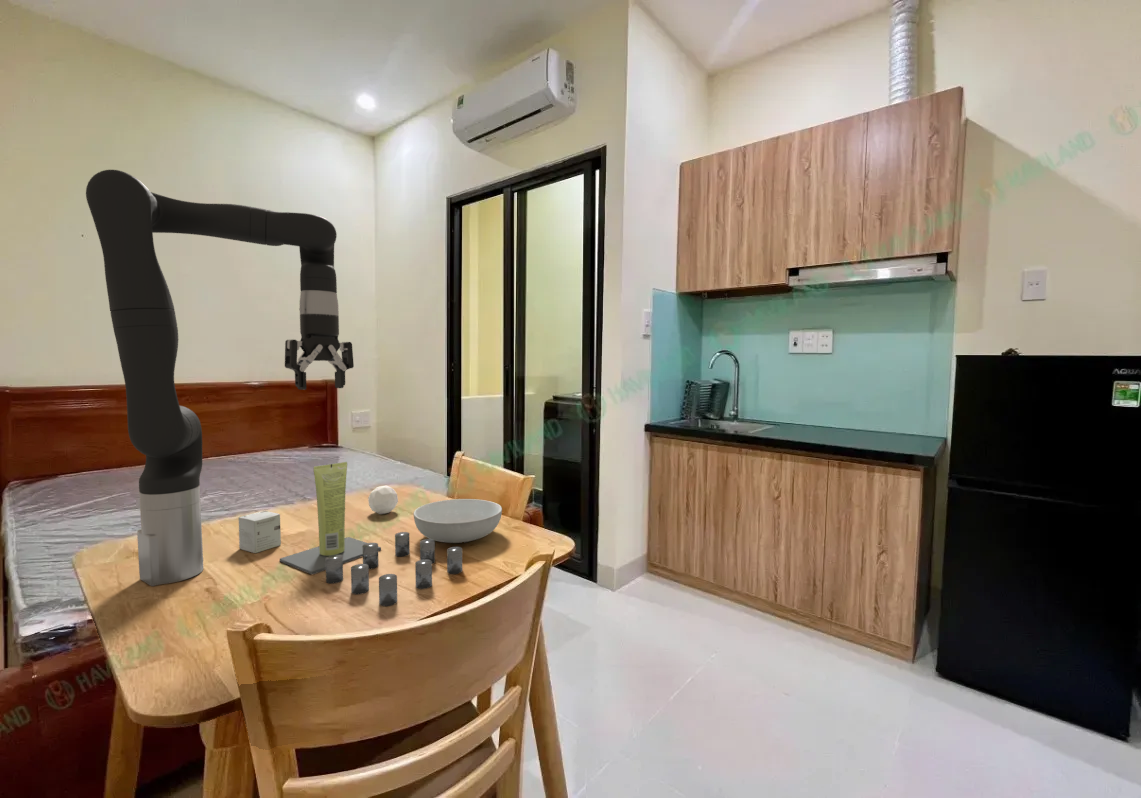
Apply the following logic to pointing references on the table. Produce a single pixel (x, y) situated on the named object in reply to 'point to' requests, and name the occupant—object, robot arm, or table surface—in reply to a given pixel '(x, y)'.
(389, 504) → the ball
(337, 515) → the tube
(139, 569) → the robot arm
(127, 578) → the table surface
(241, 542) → the skincare box
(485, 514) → the serving bowl
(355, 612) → the table surface
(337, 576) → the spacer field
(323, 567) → the slate mat
